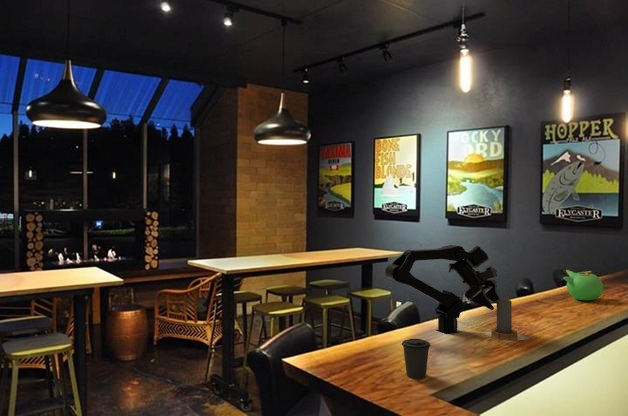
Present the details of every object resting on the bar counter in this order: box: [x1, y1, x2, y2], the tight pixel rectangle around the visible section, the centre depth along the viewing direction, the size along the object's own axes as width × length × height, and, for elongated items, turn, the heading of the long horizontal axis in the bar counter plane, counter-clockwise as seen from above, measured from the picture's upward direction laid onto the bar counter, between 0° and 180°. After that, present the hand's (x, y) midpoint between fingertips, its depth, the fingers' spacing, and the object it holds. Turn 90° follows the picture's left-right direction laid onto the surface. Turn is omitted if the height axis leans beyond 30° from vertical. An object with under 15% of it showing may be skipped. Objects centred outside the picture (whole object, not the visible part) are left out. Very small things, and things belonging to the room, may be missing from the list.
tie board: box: [478, 327, 532, 344], centre depth 174 cm, size 13×13×2 cm
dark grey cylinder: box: [496, 298, 513, 334], centre depth 172 cm, size 5×5×13 cm
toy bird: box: [563, 269, 604, 302], centre depth 238 cm, size 18×17×15 cm
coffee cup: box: [401, 338, 431, 380], centre depth 135 cm, size 8×8×10 cm
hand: (497, 307), depth 174 cm, fingers open, 9 cm apart
